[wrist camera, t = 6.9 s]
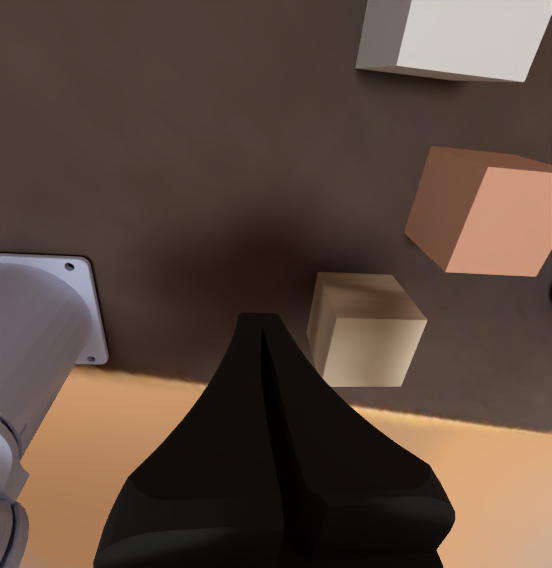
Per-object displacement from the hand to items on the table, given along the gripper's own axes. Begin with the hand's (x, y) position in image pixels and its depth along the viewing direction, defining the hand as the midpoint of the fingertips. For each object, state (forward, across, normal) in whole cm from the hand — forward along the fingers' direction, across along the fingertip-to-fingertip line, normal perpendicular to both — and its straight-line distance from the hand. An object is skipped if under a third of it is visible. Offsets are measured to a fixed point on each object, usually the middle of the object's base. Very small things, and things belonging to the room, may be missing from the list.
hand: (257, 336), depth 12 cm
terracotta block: (+10, -12, -3) cm, 16 cm away
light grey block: (+10, -7, -11) cm, 16 cm away
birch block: (+10, -7, +5) cm, 13 cm away
